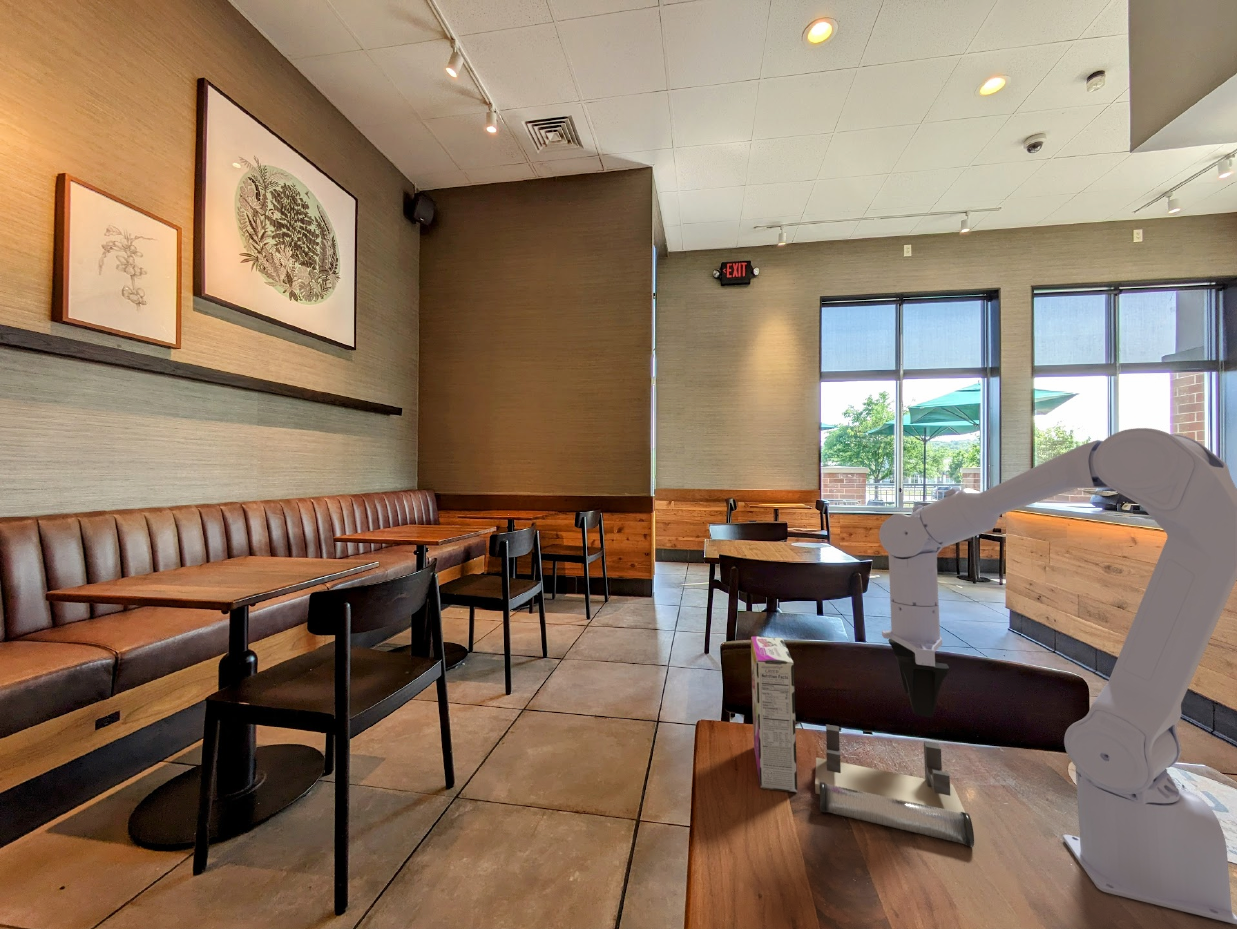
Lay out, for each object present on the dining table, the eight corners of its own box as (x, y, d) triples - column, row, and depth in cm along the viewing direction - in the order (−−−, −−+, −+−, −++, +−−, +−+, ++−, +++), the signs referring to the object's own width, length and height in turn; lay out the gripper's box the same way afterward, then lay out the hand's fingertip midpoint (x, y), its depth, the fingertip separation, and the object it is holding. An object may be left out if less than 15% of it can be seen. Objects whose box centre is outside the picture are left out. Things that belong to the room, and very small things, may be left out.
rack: (953, 794, 61) (950, 744, 62) (967, 827, 55) (964, 772, 55) (816, 766, 67) (815, 721, 68) (815, 793, 61) (814, 744, 62)
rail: (967, 835, 54) (965, 807, 54) (974, 853, 51) (973, 823, 51) (820, 801, 59) (819, 776, 60) (820, 816, 57) (819, 790, 57)
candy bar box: (751, 746, 73) (749, 635, 74) (786, 750, 72) (784, 637, 73) (757, 789, 62) (755, 658, 63) (798, 794, 61) (795, 661, 62)
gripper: (876, 590, 75) (879, 681, 74) (887, 610, 62) (891, 720, 61) (929, 594, 72) (933, 688, 71) (952, 615, 59) (958, 731, 58)
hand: (918, 703), depth 66 cm, fingers open, 7 cm apart
